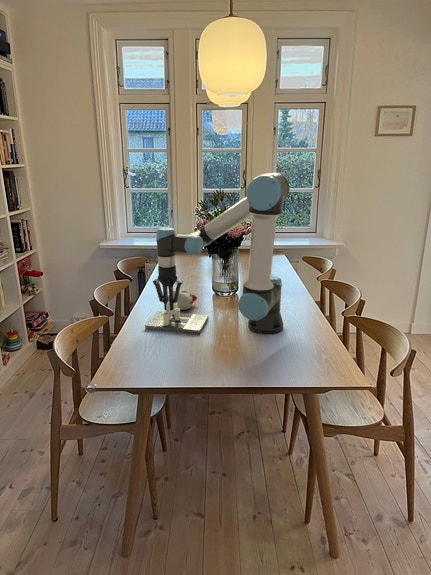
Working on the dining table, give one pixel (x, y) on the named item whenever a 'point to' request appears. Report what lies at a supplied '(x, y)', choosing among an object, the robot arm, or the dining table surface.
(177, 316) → the breaker mid
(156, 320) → the panel
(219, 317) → the dining table surface
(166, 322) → the breaker near
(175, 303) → the breaker far
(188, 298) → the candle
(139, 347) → the dining table surface
